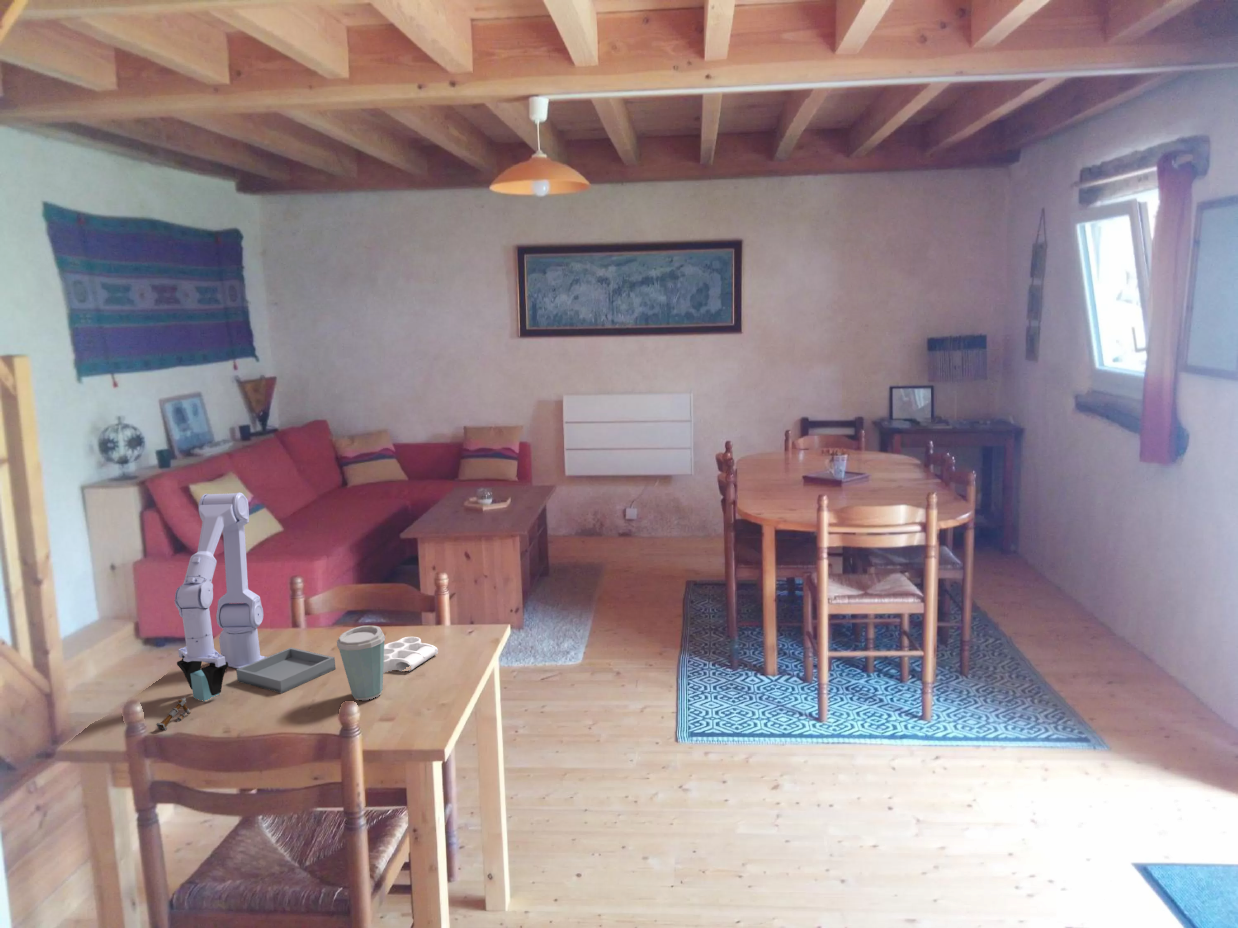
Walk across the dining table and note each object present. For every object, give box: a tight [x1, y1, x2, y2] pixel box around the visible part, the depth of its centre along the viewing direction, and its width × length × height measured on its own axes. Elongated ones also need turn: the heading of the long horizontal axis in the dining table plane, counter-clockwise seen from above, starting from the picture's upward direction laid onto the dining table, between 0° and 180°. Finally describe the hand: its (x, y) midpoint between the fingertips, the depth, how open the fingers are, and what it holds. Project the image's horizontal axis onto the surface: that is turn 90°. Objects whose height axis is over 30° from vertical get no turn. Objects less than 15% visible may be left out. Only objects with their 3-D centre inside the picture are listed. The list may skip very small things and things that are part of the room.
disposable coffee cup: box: [336, 625, 386, 701], centre depth 209 cm, size 11×11×15 cm
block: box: [190, 670, 221, 702], centre depth 213 cm, size 4×4×6 cm
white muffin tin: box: [383, 636, 439, 674], centre depth 230 cm, size 3×18×15 cm
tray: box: [236, 647, 337, 694], centre depth 224 cm, size 16×16×3 cm
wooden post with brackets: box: [155, 697, 192, 731], centre depth 200 cm, size 2×8×4 cm, turn 160°
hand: (205, 690), depth 213 cm, fingers open, 7 cm apart
